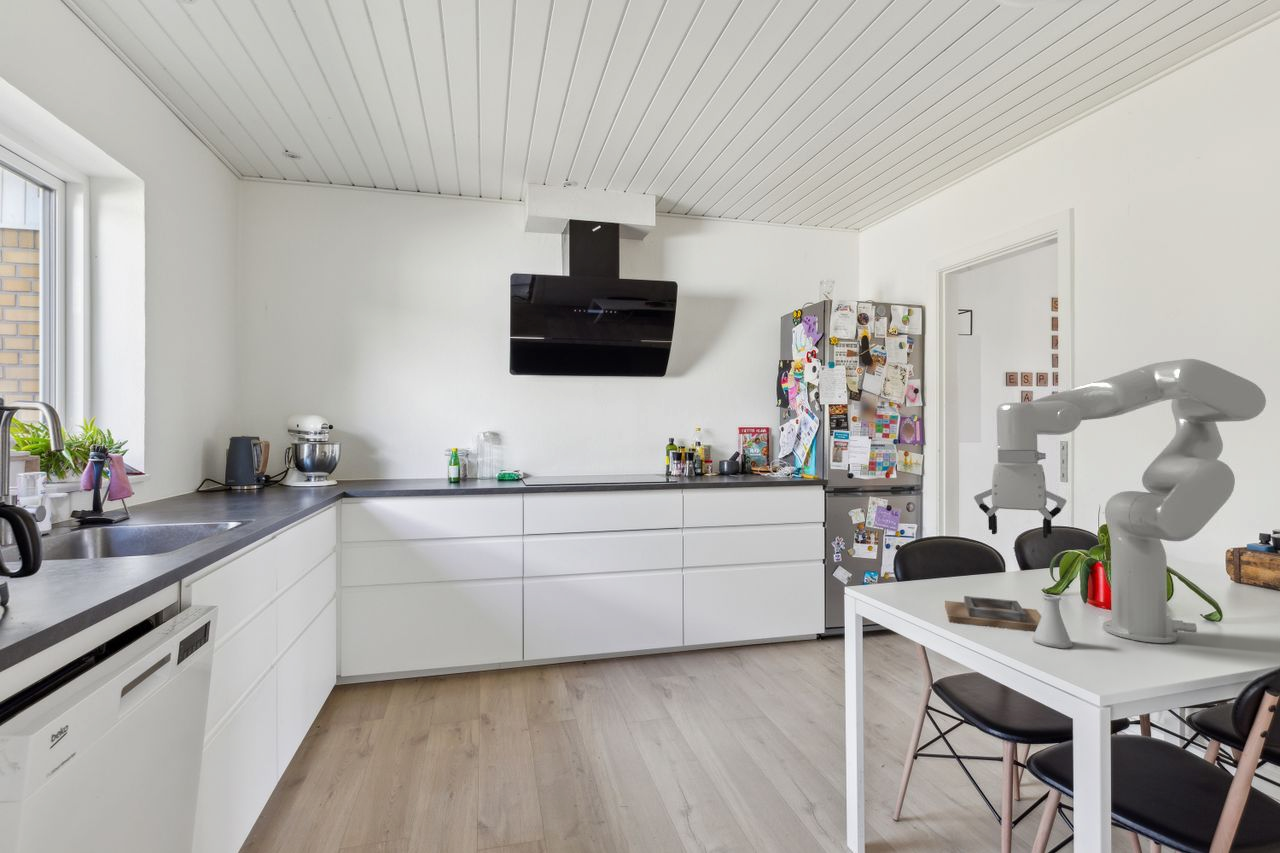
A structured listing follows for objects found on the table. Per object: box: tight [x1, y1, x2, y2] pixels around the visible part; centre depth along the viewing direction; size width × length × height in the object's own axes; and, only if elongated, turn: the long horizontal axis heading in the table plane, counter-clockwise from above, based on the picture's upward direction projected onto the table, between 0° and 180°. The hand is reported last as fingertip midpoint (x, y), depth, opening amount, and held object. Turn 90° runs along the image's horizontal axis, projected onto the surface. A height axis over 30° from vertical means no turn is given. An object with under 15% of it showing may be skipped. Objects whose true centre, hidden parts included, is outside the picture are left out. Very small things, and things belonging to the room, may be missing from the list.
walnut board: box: [944, 595, 1042, 633], centre depth 144 cm, size 20×14×4 cm
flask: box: [1032, 593, 1073, 649], centre depth 127 cm, size 7×7×10 cm
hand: (1019, 535), depth 132 cm, fingers open, 9 cm apart
